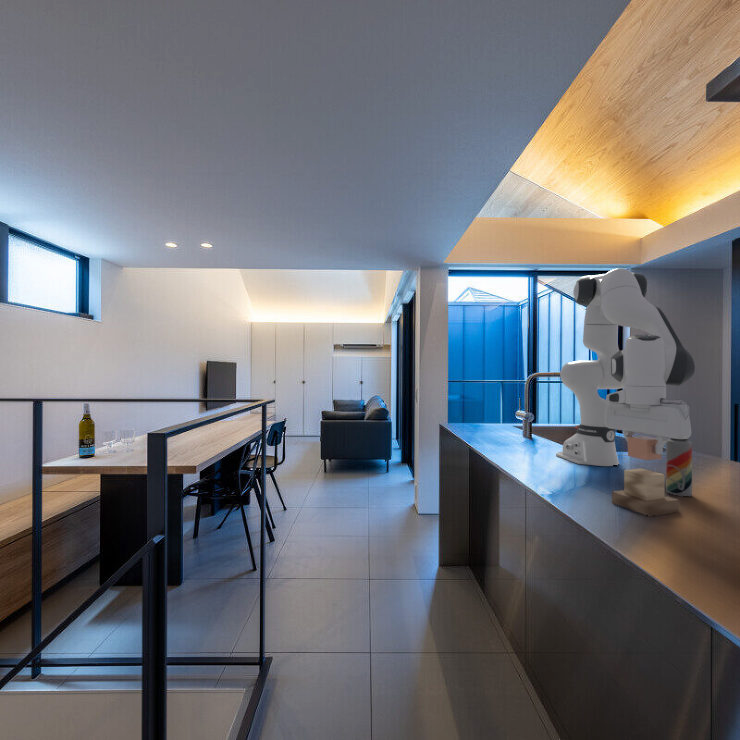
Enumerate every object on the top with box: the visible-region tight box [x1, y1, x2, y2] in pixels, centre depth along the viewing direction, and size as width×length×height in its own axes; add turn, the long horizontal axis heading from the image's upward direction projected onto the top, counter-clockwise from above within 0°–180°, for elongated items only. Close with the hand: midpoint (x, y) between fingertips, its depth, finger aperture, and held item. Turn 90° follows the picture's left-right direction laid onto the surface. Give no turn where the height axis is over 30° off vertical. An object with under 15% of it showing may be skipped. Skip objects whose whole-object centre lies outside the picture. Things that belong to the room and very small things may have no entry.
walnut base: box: [611, 489, 680, 517], centre depth 98 cm, size 10×10×3 cm
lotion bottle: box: [665, 438, 693, 497], centre depth 109 cm, size 6×6×20 cm
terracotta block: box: [627, 435, 662, 461], centre depth 98 cm, size 5×5×5 cm
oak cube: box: [623, 468, 665, 500], centre depth 99 cm, size 6×6×6 cm
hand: (644, 451), depth 98 cm, fingers closed on terracotta block, 5 cm apart
